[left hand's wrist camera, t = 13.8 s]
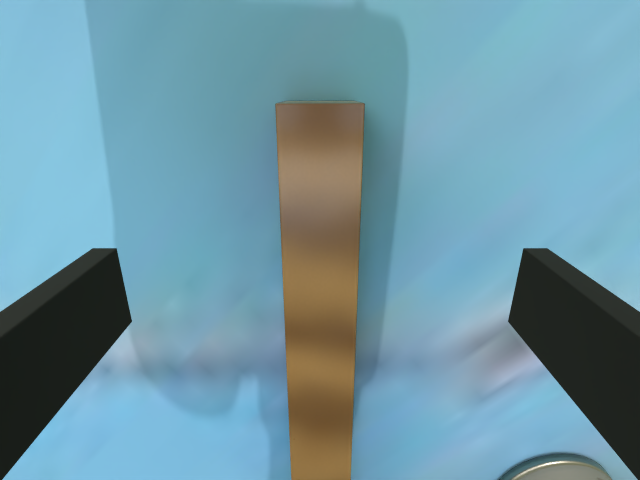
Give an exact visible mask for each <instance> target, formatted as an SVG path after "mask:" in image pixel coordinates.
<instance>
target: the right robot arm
mask: <svg viewBox="0 0 640 480" xmlns="http://www.w3.org/2000/svg"><path fill="white" fill-rule="evenodd" d="M499 480H612V479H611V477H610V476H609V475H608V473H607V472H606V471H605V470H604V468H603V467H602V466H600V465H599V464H598V463H596V462H595V461H593V460H591V459H589V458H586V457H583V456H579V455H573V454H552V455H545V456H541V457H537V458H534V459H531V460H528V461H526V462H523V463H521V464H519V465H517V466H516V467H514V468H512V469H511V470H509V471H508V472H507V473H506V474H504V475H503V476H502V477H501V478H500V479H499Z"/></svg>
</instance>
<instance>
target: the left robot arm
mask: <svg viewBox="0 0 640 480" xmlns="http://www.w3.org/2000/svg"><path fill="white" fill-rule="evenodd" d="M131 322H132V320H131V315H130V310H129V305H128V301H127V296H126V291H125V286H124V282H123V277H122V272H121V267H120V263H119V258H118V253H117V248H93V249H91V250H90V251H88V252H87V253H85V254H84V255H82V256H81V257H80V258H78V259H77V260H75V261H74V262H72V263H71V264H69V265H68V266H66V267H65V268H64V269H62V270H61V271H59V272H58V273H56V274H55V275H53V276H52V277H51V278H49V279H48V280H46V281H45V282H43V283H42V284H40V285H39V286H37V287H36V288H35V289H33V290H32V291H30V292H29V293H27V294H26V295H24V296H23V297H21V298H20V299H19V300H17V301H16V302H14V303H13V304H11V305H10V306H8V307H7V308H5V309H4V310H3V311H1V312H0V480H2V479H3V478H4V477H5V475H6V474H7V473H8V472H9V471H10V469H11V468H12V467H13V466H14V465H15V463H16V462H17V461H18V460H19V458H20V457H21V456H22V455H23V454H24V452H25V451H26V450H27V449H28V447H29V446H30V445H31V444H32V443H33V441H34V440H35V439H36V438H37V436H38V435H39V434H40V433H41V432H42V430H43V429H44V428H45V427H46V426H47V424H48V423H49V422H50V421H51V419H52V418H53V417H54V416H55V415H56V413H57V412H58V411H59V410H60V408H61V407H62V406H63V405H64V404H65V402H66V401H67V400H68V399H69V397H70V396H71V395H72V394H73V393H74V391H75V390H76V389H77V388H78V387H79V385H80V384H81V383H82V382H83V380H84V379H85V378H86V377H87V376H88V374H89V373H90V372H91V371H92V369H93V368H94V367H95V366H96V365H97V363H98V362H99V361H100V360H101V358H102V357H103V356H104V355H105V354H106V352H107V351H108V350H109V349H110V347H111V346H112V345H113V344H114V343H115V341H116V340H117V339H118V338H119V337H120V335H121V334H122V333H123V332H124V330H125V329H126V328H127V327H128V326H129V324H130V323H131ZM508 322H509V323H510V324H511V326H512V327H513V328H514V329H515V330H516V332H517V333H518V334H519V335H520V337H521V338H522V339H523V340H524V341H525V343H526V344H527V345H528V346H529V347H530V349H531V350H532V351H533V352H534V354H535V355H536V356H537V357H538V358H539V360H540V361H541V362H542V363H543V365H544V366H545V367H546V368H547V369H548V371H549V372H550V373H551V374H552V376H553V377H554V378H555V379H556V380H557V382H558V383H559V384H560V385H561V387H562V388H563V389H564V390H565V391H566V393H567V394H568V395H569V396H570V397H571V399H572V400H573V401H574V402H575V404H576V405H577V406H578V407H579V408H580V410H581V411H582V412H583V413H584V415H585V416H586V417H587V418H588V419H589V421H590V422H591V423H592V424H593V426H594V427H595V428H596V429H597V430H598V432H599V433H600V434H601V435H602V436H603V438H604V439H605V440H606V441H607V443H608V444H609V445H610V446H611V447H612V449H613V450H614V451H615V452H616V454H617V455H618V456H619V457H620V458H621V460H622V461H623V462H624V463H625V465H626V466H627V467H628V468H629V469H630V471H631V472H632V473H633V474H634V475H635V477H636V478H637V479H638V480H640V312H639V311H637V310H636V309H635V308H633V307H632V306H630V305H629V304H627V303H626V302H624V301H623V300H621V299H620V298H619V297H617V296H616V295H614V294H613V293H611V292H610V291H608V290H607V289H605V288H604V287H603V286H601V285H600V284H598V283H597V282H595V281H594V280H592V279H591V278H589V277H588V276H587V275H585V274H584V273H582V272H581V271H579V270H578V269H576V268H575V267H574V266H572V265H571V264H569V263H568V262H566V261H565V260H563V259H562V258H560V257H559V256H558V255H556V254H555V253H553V252H552V251H550V250H549V249H547V248H523V253H522V258H521V263H520V267H519V272H518V277H517V282H516V286H515V291H514V296H513V301H512V305H511V310H510V315H509V320H508Z"/></svg>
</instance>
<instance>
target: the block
mask: <svg viewBox="0 0 640 480" xmlns="http://www.w3.org/2000/svg"><path fill="white" fill-rule="evenodd" d="M275 105H276V128H277V152H278V175H279V199H280V222H281V246H282V269H283V293H284V316H285V339H286V363H287V386H288V410H289V433H290V457H291V480H351V453H352V427H353V400H354V374H355V347H356V321H357V294H358V268H359V241H360V215H361V188H362V162H363V135H364V109H365V104H364V103H361V102H357V101H284V102H280V103H276V104H275Z"/></svg>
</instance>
